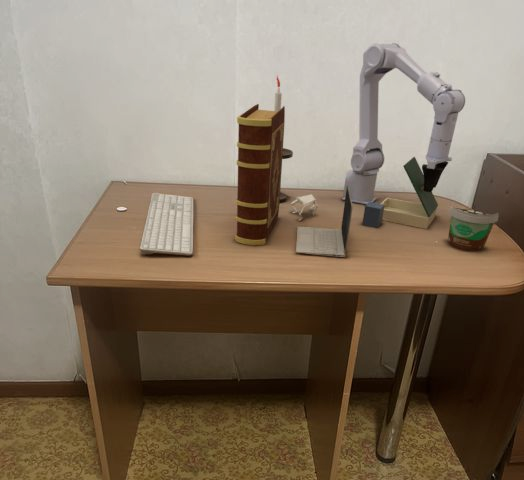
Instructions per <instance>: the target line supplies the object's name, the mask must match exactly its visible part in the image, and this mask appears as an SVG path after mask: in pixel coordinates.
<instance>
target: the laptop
mask: <svg viewBox="0 0 524 480" xmlns="http://www.w3.org/2000/svg"><path fill="white" fill-rule="evenodd" d="M353 207H354V206H353V202H351V197H350V192H349V187H348V185H347V189H346V197H345V200H344V205H343V212H342V213H343V214H342V220H341V228H339V229H337V228H325V227H313V226H312V227H311V226H300V225H299V226H298V225H297V227H296V242H295V253H296V254H297V253H299V254H307V255H315V256H316V255H317V256H325V257H337V258H345V257H346V255H347V251H348V244H349V243H348V242H349V236H350V228H351V221H352V215H353Z"/></svg>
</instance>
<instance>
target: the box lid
mask: <svg viewBox="0 0 524 480" xmlns="http://www.w3.org/2000/svg"><path fill="white" fill-rule="evenodd" d="M403 169H404V172H405V173H406V175H407V177H408V179H409V181H410V183H411V185H412V187H413V189H414V191H415V194H416V195H417V198H418V199H419V202H420V204H422V205H423V207H424V209H425V211H426V213H427V215H428V217H430V216H431V215H432V213H433V212H434V211H435V209H436V208H437V209H438V206H439V204H438V202H437V200H436V198H435V195H434V193H433V191H432V192H425V191H424V174H423V170H422V168H421V167H420V165H419V162H418V160H417V158H416V157H415V156H413V157H412V158H411V159H409V160H408V161H407V162H406V163H405V164H404V165H403Z"/></svg>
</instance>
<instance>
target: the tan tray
mask: <svg viewBox="0 0 524 480" xmlns="http://www.w3.org/2000/svg"><path fill="white" fill-rule="evenodd" d="M380 204H384V205H385V206H384V212H383V218H382V221H384V222H390V223H395V224H399V225H404V226H410V227H415V228H420V229H425V230H427V229H428V228H429V226H430V225H431V224H432V222H433V221H434V219H435V218H436V214H437V210H438V207H437V208H436V209H435V211H434V212H433V213H432V215H431V216H430V217H428V215H427V213H426V211H425V209H424V207H423V205H422V203H419V202H414V201H408V200H403V199H398V198H391V197H386V198H384V200H383V201H382V202H380Z"/></svg>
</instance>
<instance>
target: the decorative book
mask: <svg viewBox="0 0 524 480" xmlns="http://www.w3.org/2000/svg"><path fill="white" fill-rule="evenodd" d="M259 105H260V104H259V103H257V104H255V105H253V106H252V107H250V108H248V109H247V110H246V111H245V112H243V113H242V114H240V115H238V116H237V117H236V123H237V124H238V135H237V136H238V137H237V138H238V139H237V142H236V147H237V160H236V165H237V193H236V194H237V197H236V199H235V205H236V216H235V221H236V234H235V236H234V238H235V239H234V240H235V242H237V243H239V244H242V245H247V246H263V245H265V244H266V242H267V240H268V238H269V237H270V235H271V233H272V231H273V229H274V228H275V226H276V224H277V221H278V218H279V214H280V213H279V212H280V203H281V202H280V192H281V186H282V185H281V184H282V170H283V169H282V168H283V159H282V155H283V148H284V139H285V136H284V135H285V119H286V118H285V117H286V116H285V115H286V113H285V112H286V109H285V108H286V107H285V105H283V106H281V110H279V111H274V110H267V109H266V110H265V109H260V108H259V107H260V106H259Z"/></svg>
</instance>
